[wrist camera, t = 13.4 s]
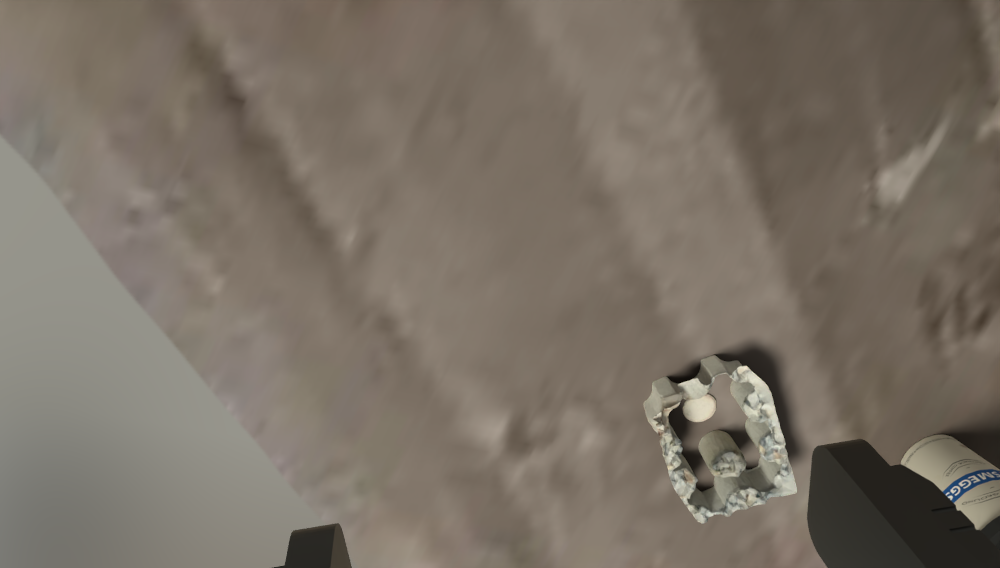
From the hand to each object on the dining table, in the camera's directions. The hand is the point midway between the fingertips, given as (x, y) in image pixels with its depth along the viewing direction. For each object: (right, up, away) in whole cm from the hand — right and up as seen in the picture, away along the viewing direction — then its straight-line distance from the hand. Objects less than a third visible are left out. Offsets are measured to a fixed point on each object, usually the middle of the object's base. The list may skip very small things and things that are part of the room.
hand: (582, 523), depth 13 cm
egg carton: (+12, -5, +38) cm, 40 cm away
